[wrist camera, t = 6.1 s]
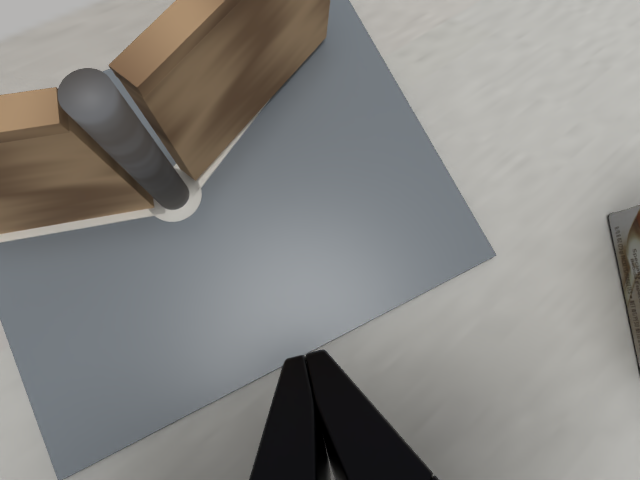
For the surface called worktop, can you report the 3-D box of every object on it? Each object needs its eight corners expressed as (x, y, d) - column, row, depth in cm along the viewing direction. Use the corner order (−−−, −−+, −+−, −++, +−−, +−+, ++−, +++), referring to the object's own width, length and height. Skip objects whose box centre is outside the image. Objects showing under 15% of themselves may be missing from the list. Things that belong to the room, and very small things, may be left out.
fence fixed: (193, 209, 22) (117, 113, 13) (-8, 244, 21) (-260, 169, 12) (189, 180, 23) (111, 64, 13) (-9, 213, 22) (-256, 115, 12)
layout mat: (493, 256, 23) (497, 254, 22) (63, 478, 19) (57, 482, 19) (337, -13, 26) (338, -20, 25) (-60, 139, 22) (-68, 134, 22)
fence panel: (196, 182, 22) (137, 87, 13) (178, 167, 22) (108, 65, 14) (327, 38, 24) (346, -121, 16) (310, 26, 24) (320, -138, 16)
